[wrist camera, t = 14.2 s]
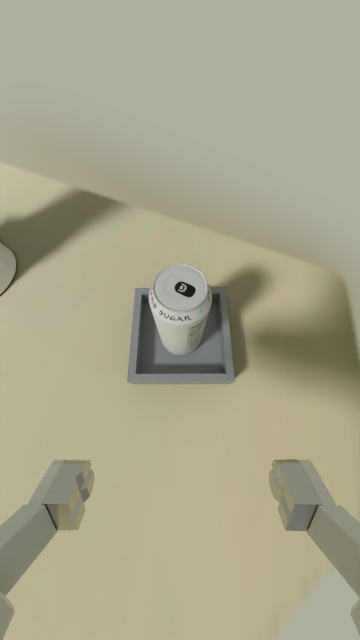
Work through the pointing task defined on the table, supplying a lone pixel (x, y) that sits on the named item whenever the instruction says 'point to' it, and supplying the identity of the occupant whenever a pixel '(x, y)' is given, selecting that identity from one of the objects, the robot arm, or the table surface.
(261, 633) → the table surface
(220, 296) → the gray tray
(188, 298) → the energy drink can
